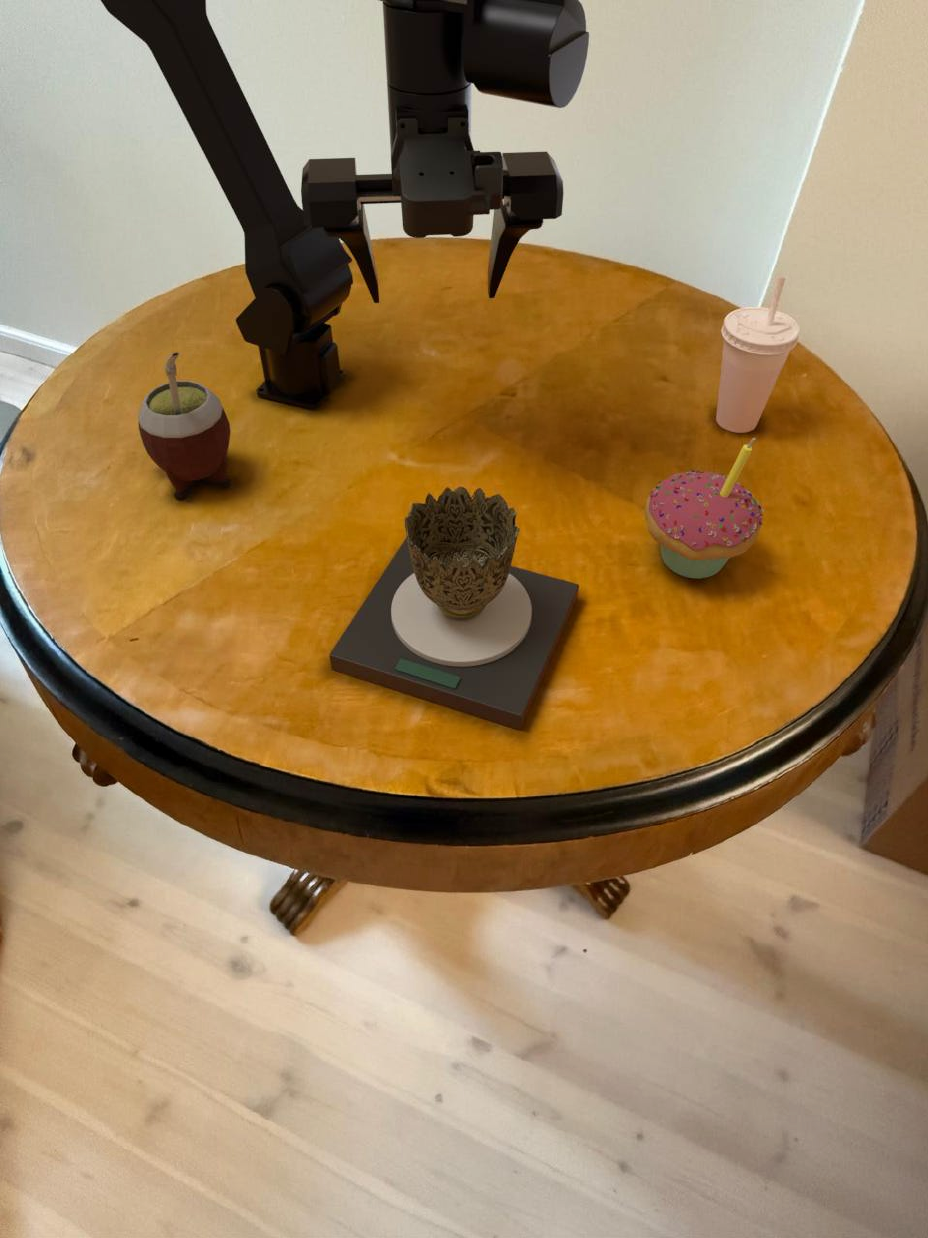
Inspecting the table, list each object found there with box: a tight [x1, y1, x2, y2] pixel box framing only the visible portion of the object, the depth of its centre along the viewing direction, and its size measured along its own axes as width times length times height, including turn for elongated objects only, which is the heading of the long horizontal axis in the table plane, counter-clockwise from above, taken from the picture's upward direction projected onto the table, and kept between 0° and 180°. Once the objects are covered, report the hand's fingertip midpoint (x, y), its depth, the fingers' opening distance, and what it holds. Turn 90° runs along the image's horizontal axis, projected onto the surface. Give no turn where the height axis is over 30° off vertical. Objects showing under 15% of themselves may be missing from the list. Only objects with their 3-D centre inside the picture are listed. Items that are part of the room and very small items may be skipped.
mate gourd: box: [137, 351, 232, 501], centre depth 71 cm, size 8×8×15 cm
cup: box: [404, 486, 520, 621], centre depth 61 cm, size 8×7×8 cm
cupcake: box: [644, 437, 765, 580], centre depth 66 cm, size 9×8×12 cm
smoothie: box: [715, 274, 801, 434], centre depth 78 cm, size 6×6×14 cm
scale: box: [328, 538, 580, 731], centre depth 64 cm, size 14×13×2 cm
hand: (434, 298), depth 72 cm, fingers open, 9 cm apart
